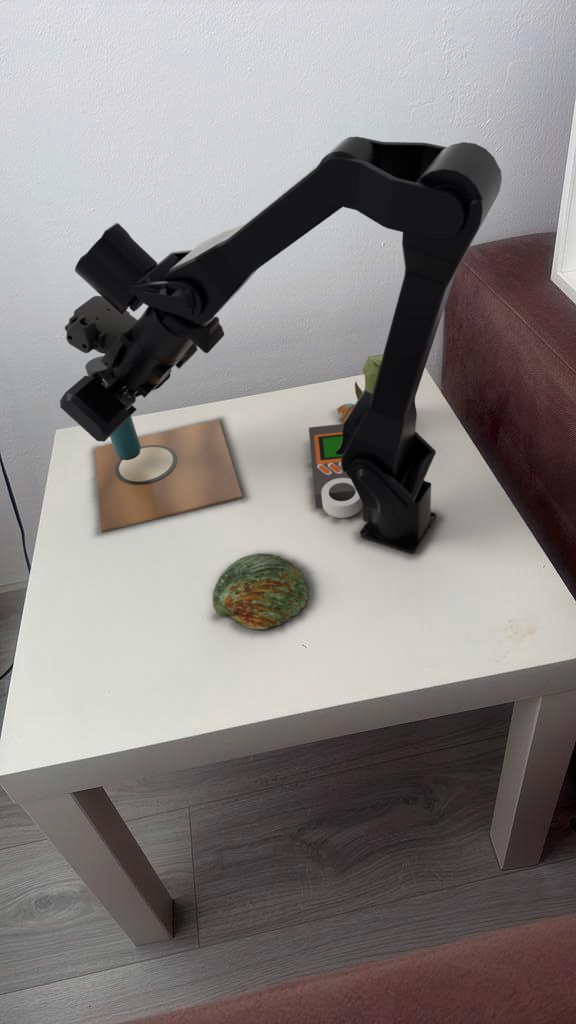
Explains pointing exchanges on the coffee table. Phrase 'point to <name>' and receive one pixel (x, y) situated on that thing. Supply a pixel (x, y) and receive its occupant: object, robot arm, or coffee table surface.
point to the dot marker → (126, 434)
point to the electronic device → (331, 473)
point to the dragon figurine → (349, 405)
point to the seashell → (260, 591)
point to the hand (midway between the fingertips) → (106, 408)
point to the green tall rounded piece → (371, 371)
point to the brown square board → (165, 476)
